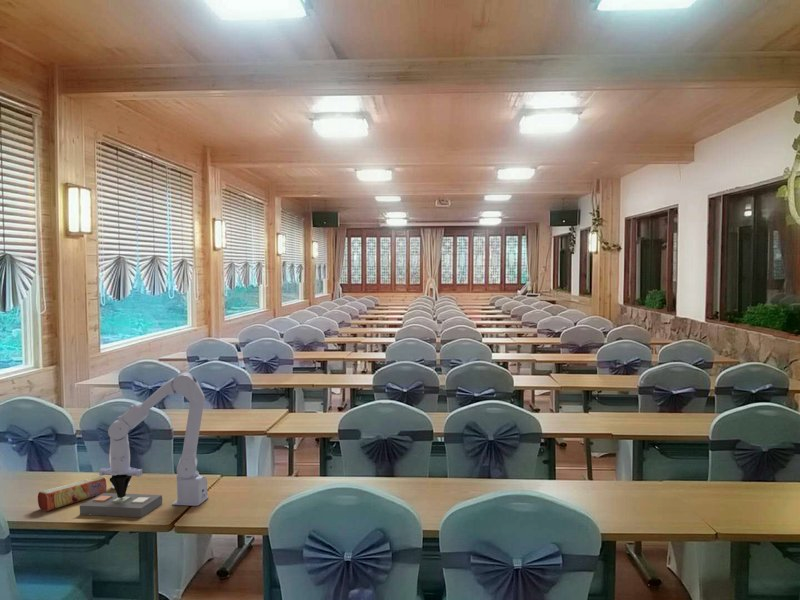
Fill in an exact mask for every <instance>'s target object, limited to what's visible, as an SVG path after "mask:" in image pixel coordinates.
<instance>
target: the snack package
mask: <svg viewBox="0 0 800 600" xmlns="http://www.w3.org/2000/svg"><path fill="white" fill-rule="evenodd" d="M102 493H107V481H106V478H105V477H104V476H98V475H97V476H93V477H90V478H86V479H82V480H78V481H74V482H71V483H70V482H69V483H67V484H64V485H61V486H56V487H53V488H48V489H44V490H41V491H39V492H38V494H37V504H38V507H39V509H40V510H41V511H43V512H50V511H52V510H56V509H58V508H62V507H65V506H68V505H71V504H74V503H77V502H81V501H84V500H88V499H91V498H95V497H97V496H99V495H101V494H102ZM94 496H95V497H94Z"/></svg>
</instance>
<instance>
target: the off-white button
mask: <svg viewBox="0 0 800 600" xmlns="http://www.w3.org/2000/svg"><path fill="white" fill-rule="evenodd" d="M148 500H150V498H147V497H138V498H137V499H135V500H133V501H132V503H135V504H144V503H145V502H147V501H148Z"/></svg>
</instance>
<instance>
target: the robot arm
mask: <svg viewBox="0 0 800 600" xmlns="http://www.w3.org/2000/svg"><path fill="white" fill-rule="evenodd" d="M176 393H177V394H180V395H181V396H184V398H185V399H186V400H187V401H188V402H189V409H188V415H187V419H186V420H187V422H186V426H185V427H186V429H185V433H184V440H183V447H182V452H181V456H180V457H179V459H178V463H177V466H176V496H177V497H176V498H177V499H176V500H175V501H173V502H172V503H171V504H172V506H193V507H195V506H196V507H197V506H199V505H201V504H202V503H203V502H205V501H206V500H207V499H209V498H210V497H209V496H208V480H207V477H206V476H204V475H200V473H199V471H198V470H197V466H198V462H199V461H198V457H197V450H198V443H199V437H200V431H201V424H202V419H203V418H202V417H203V412H204V404H205V400H206V399H205V398H206V397H205V394H204V392H203V390H202V387H201V386H200V384H199V381H198V379H197V378H196V377H195V376H194V375H193V374H192V373H191V372H189V371H182V372H179V373H178V374H177V375H176V376H174V377H172V378H171V379H169V380H168V381H166V382H164V383H163V384H162V385H160V386H159V388H158V389H157V390H156V391H154V392H153V393H152V394H151V395H149V397H147V398H146V399H145V400H144V401H143V402H142V403H135V404H134V405H133V404H131V405H129V407H128V410H127V411H125V412H124V413H122V414H121V415H118V417H116V419H117V420H116V419H115V421H113V422H112V423H111V425H109V427H108V429H107V434H108V436H109V443H110V444H109V455H110V456H111V467H106V468H105V467H101V468H100V469H99V471H98V473H99V474H98V475H99V476H100V477H104V476H111V477H110V478H109V482H110V483H111V485H112V484H113V486H114V488H115V489H114V490H115V492H116V493H117V496H118V498H123V497H124V496H125V495H126V494H127V490H128V487H129V486H128V484H129V483H130V481H131V479H132V478H133V477H136V478H138V477H142V476H143V469H142V468H135V467H131V455H130V456H129V450H130V442H129V432H130V430H134V428H135V427H137V426H138V425H139V424H141V423H142V421H144V420H145V419H146V418H148V416H149V410H151V409H152V408H153V407H155V406H156V405H157V404H158V403H160V402H161V401H162V400H164V399H165V397H167V396H172V395H175V394H176ZM127 486H128V487H127Z"/></svg>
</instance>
